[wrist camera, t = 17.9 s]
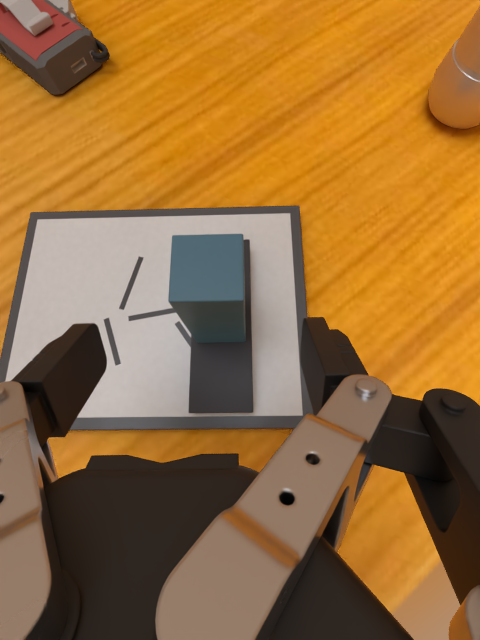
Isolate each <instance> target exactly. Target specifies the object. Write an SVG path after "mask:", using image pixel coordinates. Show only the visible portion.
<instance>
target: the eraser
mask: <svg viewBox="0 0 480 640" xmlns="http://www.w3.org/2000/svg"><path fill="white" fill-rule="evenodd" d="M168 301H169V303H170V305H171V306H172V307H173V309H174V310H175V312H176V313H177V315H178V316H179V317H180V319H181V320H182V322H183V323H184V325H185V326H186V327H187V329H188V330H189V332H190V333H191V355H190V384H189V413H253V372H252V325H251V278H250V240H249V239H245V240H244V237H243V234H205V235H173V236H172V245H171V263H170V280H169V297H168Z"/></svg>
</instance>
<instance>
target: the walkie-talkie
mask: <svg viewBox="0 0 480 640" xmlns="http://www.w3.org/2000/svg"><path fill="white" fill-rule="evenodd" d="M99 50H101V51H102V52H101V53H100V51H99ZM0 52H1V53H2V54H3V55H4V56H6V57H7V58H8V59H9V60H10V61H12V62H13V63H14V64H15V65H17V66H18V67H19V68H21V69H22V70H23V71H24V72H25V73H26V74H28V75H29V76H31V78H32V79H34V80H35V81H36V82H38V84H40V85H41V86H42V87H44V88H45V89H46V90H47V91H48V92H50V93H51V94H52V95H53V94H64V93H65V92H66V91H68V90H69V89H70V88H72V87H73V86H75V85H76V84H77V83H79V82H80V81H82V80H83V79H84V78H86V77H87V76H88V75H90V74H91V73H93V72H94V71H95V70H97V69H98V68H99V67H100V66H101V65H102V63H103V62H106V61H107V60H109V57H110V55H109V52H108V49H107V48H106V46H105V45H104V44H102V43H101V42H100V41H98V40H97V39H96V38H94V37H93V34H92V32H91V31H89V30H88V28H85V26H83V25H81V23H78V18H77V15H76V13H75V10H74V8H73V6H72V3H71V1H70V0H0Z"/></svg>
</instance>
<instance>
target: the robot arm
mask: <svg viewBox="0 0 480 640" xmlns="http://www.w3.org/2000/svg"><path fill="white" fill-rule="evenodd" d="M300 358H301V367H302V371H303V375H304V379H305V382H306V386H307V390H308V394H309V398H310V401H311V405H312V409H313V413H314V415H313V414H311V413H308V414H306V415H305V416H304V417H303V419H302V420H301V421H300V422H299V424H298V425H297V426H296V428H295V429H294V430H293V431H292V433H291V434H290V435H289V436H288V438H287V439H286V440H285V441H284V443H283V444H282V445H281V447H280V448H279V449H278V450H277V452H276V453H275V454H274V455H273V457H272V458H271V459H270V460H269V462H268V463H267V464H266V466H265V467H264V468H263V469H262V471H261V472H260V473H259V472H257V471H255V470H252V469H250V468H247V467H243V466H239V457H238V454H200V455H196V456H192V457H187V458H183V459H179V460H175V461H170V462H166V463H159V462H155V461H150V460H146V459H142V458H138V457H133V456H129V455H99V456H91V458H90V460H89V462H88V465H87V467H86V468H85V469H81V470H78V471H75V472H72V473H70V474H68V475H65V476H63V477H61V478H59V479H58V475H57V471H56V467H55V463H54V460H53V456H52V452H51V448H50V446H49V444H48V442H47V439H48V438H49V437H65V436H66V434H67V433H68V431H69V429H70V428H71V426H72V425H73V423H74V421H75V420H76V418H77V416H78V415H79V413H80V412H81V410H82V408H83V407H84V405H85V403H86V402H87V400H88V399H89V397H90V395H91V394H92V392H93V391H94V389H95V387H96V386H97V384H98V382H99V381H100V379H101V378H102V376H103V374H104V373H105V370H106V367H107V357H106V353H105V349H104V346H103V342H102V339H101V335H100V332H99V328H98V326H97V325H96V324H95V323H77V324H73V325H72V326H71V327H70V328H69V329H68V330H67V331H66V332H65V333H64V334H63V335H62V336H60V337H58V338H57V339H55V340H53V341H52V342H50V343H48V344H47V345H46V346H45V347H44V348H43V349H42V350H41V351H40V352H39V354H37V355H36V356H35V357H34V358H33V360H32V361H30V362H29V363H28V364H27V365H26V366H25V367H24V368H23V369H22V370H21V371H20V372H19V373H18V374H17V375H16V376H15V377H14V378H13V379H12V380H11V381H7V382H1V383H0V640H414V639H413V638H412V637H411V636H410V635H409V634H408V632H407V631H406V630H405V629H404V628H403V627H402V626H401V625H400V623H399V622H398V621H397V620H396V619H395V618H394V617H393V615H392V614H391V613H390V612H389V611H388V610H387V609H386V608H385V606H384V605H383V604H382V603H381V602H380V601H379V600H378V599H377V597H376V596H375V595H374V594H373V593H372V592H371V591H370V589H369V588H368V587H367V586H366V585H365V584H364V583H363V582H362V580H361V579H360V578H359V577H358V576H357V575H356V574H355V573H354V571H353V570H352V569H351V568H350V567H349V566H348V565H347V564H346V562H345V561H344V560H343V559H342V558H341V557H340V556H339V554H338V553H337V551H338V549H339V547H340V545H341V543H342V540H343V538H344V535H345V533H346V530H347V527H348V524H349V521H350V518H351V515H352V513H353V510H354V508H355V506H356V504H357V502H358V499H359V497H360V495H361V493H362V491H363V488H364V486H365V484H366V482H367V480H368V478H369V475H370V473H371V471H372V469H373V467H374V465H378V466H381V467H385V468H389V469H393V470H396V471H400V472H404V474H405V476H406V478H407V481H408V483H409V485H410V488H411V490H412V492H413V495H414V497H415V499H416V502H417V504H418V506H419V509H420V511H421V514H422V516H423V518H424V521H425V523H426V525H427V528H428V530H429V532H430V535H431V537H432V539H433V542H434V544H435V546H436V549H437V551H438V554H439V556H440V558H441V561H442V563H443V565H444V567H445V570H446V572H447V575H448V577H449V579H450V581H451V584H452V586H453V589H454V591H455V593H456V596H457V598H458V601H459V603H460V605H461V606H460V607H459V609H458V610H457V612H456V613H455V615H454V616H453V618H452V620H451V622H450V626H449V640H480V406H479V405H478V404H477V403H476V402H475V401H474V400H472V399H471V398H469V397H467V396H466V395H464V394H461V393H459V392H456V391H453V390H449V389H432V390H429V391H427V392H426V393H425V394H424V397H423V400H422V401H420V400H415V399H410V398H405V397H400V396H396V395H393V394H392V393H391V390H390V388H389V387H388V386H387V385H386V384H385V383H384V382H382V381H381V380H379V379H377V378H375V377H372V376H369V375H368V373H367V371H366V370H365V368H364V366H363V364H362V362H361V361H360V359H359V357H358V355H357V353H356V351H355V350H354V348H353V346H352V344H351V342H350V341H349V339H348V337H347V336H346V335H345V334H343V333H342V332H341V331H339V330H338V329H335V330H329V328H328V325H327V323H326V321H325V319H324V318H323V317H309V318H303V323H302V337H301V351H300Z"/></svg>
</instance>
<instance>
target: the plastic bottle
mask: <svg viewBox="0 0 480 640" xmlns="http://www.w3.org/2000/svg"><path fill="white" fill-rule="evenodd" d="M428 100H429V108H430V110H431V112H432V114H433V115H434V117H435V118H436V119H437V120H439V121H440V122H441V123H443V124H445V125H447V126H450V127H453V128H459V129H467V128H472V127H475V126H477V125H480V7H479V8H478V10H477V11H476V13H475V15H474V16H473V18H472V19H471V21H470V22H469V24H468V26H467V27H466V29H465V30H464V32H463V33H462V35H461V36H460V38H459V39H458V40H457V41H456V42H455V44H454V45H453V46H452V48H451V49H450V50H449V52H448V53H447V55H446V56H445V58H444V59H443V61H442V62H441V63H440V65H439V66H438V68H437V69H436V72H435V74H434V77H433V80H432V82H431V85H430V88H429V91H428Z"/></svg>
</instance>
